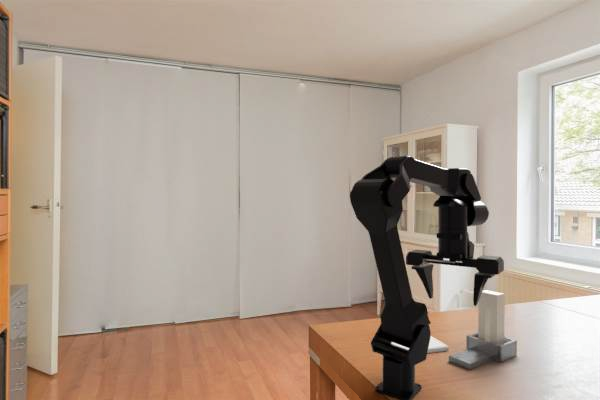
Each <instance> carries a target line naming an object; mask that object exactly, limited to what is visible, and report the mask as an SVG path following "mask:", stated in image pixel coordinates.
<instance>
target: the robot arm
mask: <svg viewBox="0 0 600 400" xmlns="http://www.w3.org/2000/svg"><path fill="white" fill-rule="evenodd" d="M411 183H413V184H416V185H421V186H425V187H428V188H429V189H430V190H429V191H430V192H432V193H433V194H435V195H436V196H438V199H436V200H435V201H434V203H433V204H432V205H433V207H434V208H437V209H438V210H437V211H438V216H437V218H438V221H437V223H438V224H437V225H438V226H437V228H438V231H437V233H436V239H438V241H437V242H438V244H437V246H438V247H437V249H438V251H437V252H436V254H433V253H432V251H431V250H425V249H424V250H423V249H414V250H411V251H408V252H407V253H406V255H405V257H404V252H403V248H402V247H403V246H402V243H401V238H400V235H399V234H400V233H399V229H398V223H399V221H400V219H401V216H402V213H403V212H404V211H403V210H404V207H403V200H404V199H405V197H406V196H407V195H408V194H409V192H410V191H411ZM349 200H350V204H351V207H352V209H353V212H354V215H355V218H356V219H357V220H358V221H359V223H360V224H361V225H362V226H363V228H365V229H366V230H367V232H368V235H369V238H370V243H371V248H372V251H373V255H374V256H373V257H374V261H375V265H376V268H377V269H376V270H377V274H378V278H379V282H380V285H381V290H382V294H383V299H384V305H383V306H384V307H383V308H382V311H381V313H380V316H379V317H380V325H379V327H378V329H377V331H376V332H375V334H374V335H373V338H372V339H371V341H370V346H371V350H372V352H373V353H376V354H379V355H381V356H382V380H381V381H380V382H379V383H378V384H377V385H376V386H375V387H374V389H375V390H374V391H376V392H378V393H380V394H381V393H382V394H385V395H387V396H390V397H393V398H396V399H399V400H411V399H412V398H414V397H415V396H416V395H417V394H418V392H419V393H420V391H421V389H422V388H423V387H422V384H420V383H416V365H418V364H420V363H422V362H424V361H426V360H427V357H428V356H427V354H428V353H427V351H428V346H429V341H430V336H432V335H431V334H432V333H431V332H432V331H431V328H430V325H431V323H432V322H431V321H430V318H429V315H428V308H427V305H426V303H423V302H418V301H415V299H414V298H413V293H412V289H411V284H410V279H409V276H408V270H407V266H406V265H408V266H411V270H414V271H416V273H417V275H418V277H419V279H420V280H421V282H422V284H423V287H424V289H425V291H426V294H427V297H428V298H429V299H433V298H434V281H433V270H434V264H435V265H436V264H437V265H445V266H448V265H449V266H456V267H465V268H474V269H476V270H477V271H478V272H476V273H474V277H473V278H474V279H473V281H474V282H473V306H475V307H476V306H478V305H479V299H480V296H481V293H482V291H483V290H484V288H485V285H486V284H487V282H488V280H489V279H492V278H494V277H495V276H496V275H499V274H501V273H502V272H504V270H505V263H504V259H503V257H501V256H494V255H484V254H483V255H481V256H479V257H477V258H474V254H475V243H473V242H472V241H471V240H470V237H469V236H470V235H469V232H468V227H473V226H475V227H476V226H481V225H483V224H484V223H485V222H487V220H488V218H489V216H490V215H489V214H490V211H489V209H488V207H487V205H486V204H485V203H484V202H482V201H481V200H482V197H481V194H480V191H479V189H478V186H477V183H476V181H475V178H474V176H473V173H472V172H471V170H470V169H468V168H466V167H459V168H458V167H456V168H450V167H449V168H443V167H441V166H438V165H435V164H432V163H428V162H424V161H422V160H419V159H416V158H414V157H413V156H410V155H400V156H390V157H388V158H386V159H384V161H383V162H382V163H381V164H380V165H379V166H377V167H376V168H374V169H372V170H371V171H370V172H368V173H365V175H364V176H362V178H361V179H359V180H357V181H356V182H355V183H354V184H353V186H352V189H351V191H350V192H349ZM445 259H446V260H445ZM391 342H394V343H397V344H399V345H402V346H405V347H408V348H409V350H407V349H404V348H401V347H398V346H395V345H393V344H391Z"/></svg>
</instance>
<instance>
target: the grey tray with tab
mask: <svg viewBox="0 0 600 400" xmlns="http://www.w3.org/2000/svg"><path fill="white" fill-rule="evenodd" d="M517 340H518V339H517ZM517 340H516V339H513V338H510V337H506V336H504V344H501V345H497V344H494V343H491V342H488V341H485V340H482V339H479V338H478V331H476V332H474V333H470V334H466V346H465V347H466V349H464V350H461V351H458V352H455V353H452V354H449V355H448V362H450V363H452V364H455V365H457V366H460V367H462V368H465V369H467V370H473V369H475V368H478V367H480V366H483V365H485V364H487V363H491V362H492V361H496V362H498V363H503V362H505V361H508V360H510V359H512V358H514V357H517V353H518V348H517V346H518V342H517Z"/></svg>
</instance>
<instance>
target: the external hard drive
mask: <svg viewBox="0 0 600 400" xmlns="http://www.w3.org/2000/svg"><path fill="white" fill-rule="evenodd" d="M391 344H393V345H395V346H398V347H401V348H404V349H407V350H409V348H408V347H405V346H402V345H399V344H397V343H394V342H391ZM449 347H450V346H448V345H447V344H446V343H444V342H443V341H441V340H438V339H437V338H435V337H433V336H432V335H431V336H430V341H429V346H428V351H427V354H432V353H440V352H448V351H449Z"/></svg>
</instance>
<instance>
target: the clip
mask: <svg viewBox="0 0 600 400" xmlns="http://www.w3.org/2000/svg"><path fill="white" fill-rule="evenodd" d="M505 298H506V295H505V293H504V292H499V291H492V290H490V289H489V290H488V289H483V291H482V293H481V296H480V299H479V301H478V316H477V317H478V325H477V326H478V327H477V329H478V331H477V332H478V338H479V339H482V340H485V341H488V342H491V343H494V344H497V345H501V344H504V337H505V314H506V313H505V312H506V311H505V310H506V309H505V308H506V307H505V305H506V303H505V301H506V299H505Z"/></svg>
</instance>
